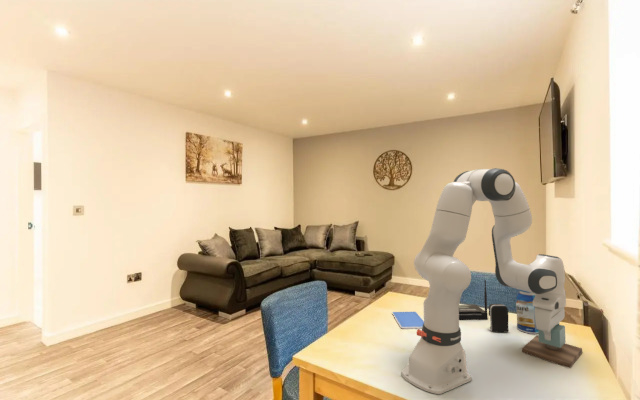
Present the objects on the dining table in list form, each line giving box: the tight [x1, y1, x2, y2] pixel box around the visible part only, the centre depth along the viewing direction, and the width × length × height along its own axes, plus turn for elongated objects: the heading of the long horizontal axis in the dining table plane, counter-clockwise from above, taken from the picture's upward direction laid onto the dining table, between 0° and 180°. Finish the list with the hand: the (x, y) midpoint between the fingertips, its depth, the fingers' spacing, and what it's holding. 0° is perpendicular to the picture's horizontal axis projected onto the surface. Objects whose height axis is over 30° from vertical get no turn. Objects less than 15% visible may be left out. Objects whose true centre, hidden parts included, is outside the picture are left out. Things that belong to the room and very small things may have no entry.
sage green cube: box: [537, 324, 566, 348], centre depth 109 cm, size 6×6×6 cm
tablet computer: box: [391, 311, 424, 330], centre depth 142 cm, size 19×13×1 cm, turn 179°
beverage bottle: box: [515, 289, 538, 335], centre depth 128 cm, size 8×8×20 cm
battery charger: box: [488, 303, 509, 333], centre depth 128 cm, size 7×4×11 cm, turn 85°
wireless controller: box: [459, 279, 489, 321], centre depth 145 cm, size 20×14×17 cm
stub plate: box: [521, 335, 583, 369], centre depth 109 cm, size 16×14×5 cm
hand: (551, 336), depth 109 cm, fingers closed on sage green cube, 6 cm apart
